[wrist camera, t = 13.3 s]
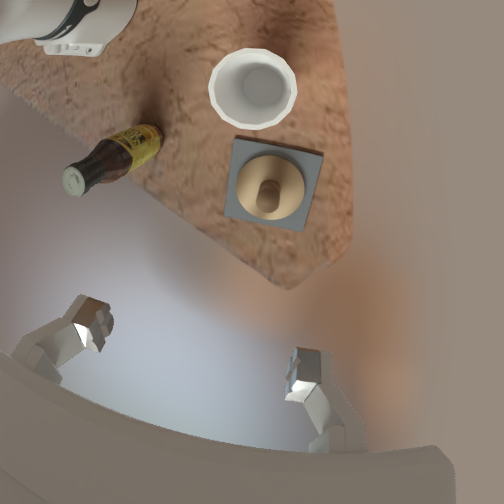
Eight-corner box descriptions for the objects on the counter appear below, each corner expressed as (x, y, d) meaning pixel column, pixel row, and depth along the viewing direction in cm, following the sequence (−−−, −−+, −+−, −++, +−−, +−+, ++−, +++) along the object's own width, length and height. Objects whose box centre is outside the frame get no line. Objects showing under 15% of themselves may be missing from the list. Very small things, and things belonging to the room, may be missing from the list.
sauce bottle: (167, 125, 42) (97, 162, 26) (162, 159, 45) (97, 212, 29) (134, 119, 41) (55, 153, 25) (130, 152, 45) (58, 200, 29)
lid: (232, 210, 49) (225, 227, 44) (241, 149, 42) (235, 159, 37) (295, 222, 49) (295, 241, 44) (311, 163, 42) (314, 175, 37)
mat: (224, 214, 50) (223, 216, 50) (234, 137, 42) (234, 138, 41) (302, 230, 50) (302, 232, 49) (322, 155, 42) (323, 156, 41)
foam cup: (242, 50, 34) (223, 39, 23) (303, 68, 34) (308, 63, 24) (224, 106, 39) (199, 117, 29) (282, 123, 40) (279, 141, 29)
